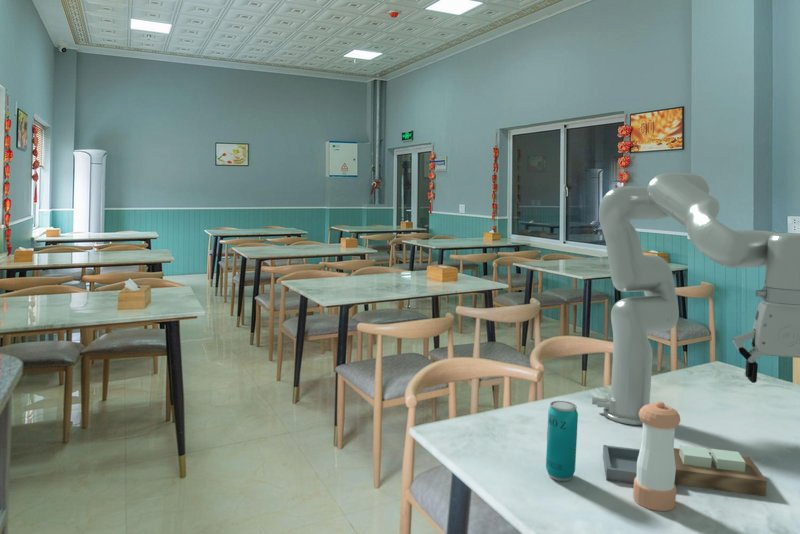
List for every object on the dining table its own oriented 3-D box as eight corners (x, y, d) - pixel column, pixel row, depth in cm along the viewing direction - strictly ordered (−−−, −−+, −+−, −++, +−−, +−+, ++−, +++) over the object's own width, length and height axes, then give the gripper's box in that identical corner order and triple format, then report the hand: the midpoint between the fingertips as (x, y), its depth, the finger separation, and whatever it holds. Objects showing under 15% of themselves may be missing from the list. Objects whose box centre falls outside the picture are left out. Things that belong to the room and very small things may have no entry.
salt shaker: (663, 491, 112) (669, 395, 110) (682, 511, 105) (690, 409, 102) (626, 491, 112) (632, 395, 109) (643, 511, 104) (649, 409, 102)
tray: (606, 480, 116) (607, 468, 116) (602, 455, 128) (603, 445, 127) (674, 489, 113) (675, 477, 112) (664, 463, 124) (665, 452, 124)
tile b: (683, 464, 117) (684, 454, 117) (679, 454, 122) (679, 445, 121) (711, 467, 116) (711, 458, 115) (705, 457, 120) (706, 448, 120)
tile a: (716, 468, 115) (717, 458, 115) (710, 457, 120) (711, 448, 120) (744, 471, 114) (745, 462, 114) (737, 461, 119) (738, 451, 118)
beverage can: (552, 467, 122) (555, 398, 120) (579, 475, 118) (582, 404, 116) (540, 476, 117) (543, 405, 115) (567, 485, 114) (571, 412, 112)
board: (674, 483, 115) (675, 469, 115) (665, 460, 125) (666, 447, 125) (765, 496, 111) (767, 481, 110) (748, 470, 121) (749, 457, 121)
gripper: (742, 297, 110) (735, 384, 112) (848, 302, 106) (839, 393, 107) (731, 292, 117) (725, 374, 119) (829, 296, 113) (822, 381, 115)
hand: (779, 383), depth 113 cm, fingers open, 9 cm apart
